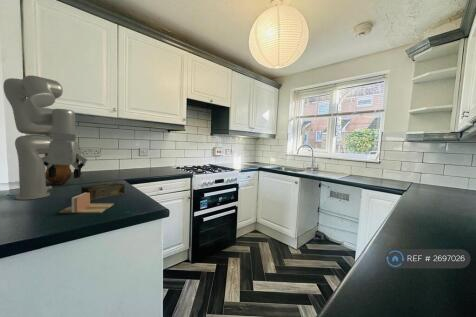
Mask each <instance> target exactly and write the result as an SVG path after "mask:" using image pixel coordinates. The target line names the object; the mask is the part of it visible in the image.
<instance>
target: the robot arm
mask: <svg viewBox="0 0 476 317" xmlns="http://www.w3.org/2000/svg"><path fill="white" fill-rule="evenodd" d="M2 88H3V93H4V95H5V97H6V99H7V101H8V102H9V105H10V107H11V109H12V113H13V118H14V124H15V127H16V130H17V132H19V133H20V134H26V135H21V136H17V137H16V138H15V141H14V146H15V149H16V150H15V151H16V154H17V160H18V161H17V162H18V180H19V185H18V186H19V194H17V195H15V197H14V198H15V200H17V201H18V200H19V201H21V200H23V201H24V200H25V201H27V200H36V199H41V198H46V197H49V196H51V192H50V191H49V190H51V189H52V188H53V186H52V185H47V183H46V182H47V181H46V180H47V179H46V174H45V173H46V169H47V168H48V175H49V178H52V177H56V168H54V167H55V166H56V165H70V166H72V167H73V168H74V169H73V178H74V179H79V178H80V177H81V175H82V174H81V173H82V172H81V171H82V170H81V169H82V168H83V167H84V166H85V165H86V163H87V162H88V159H87V158H86V157H83V156H81V155H80V149H79V145H78V142H77V141H76V113H75V111H74V110H72V109H66V108H48V107H50V106H52V105H54V103H56V99H59V98H60V97H62V96H63V92H64V91H63V86H62V85H61V83H60V82H58V81H56V80H53V79H50V78H46V77H42V76H36V75H30V74H29V75H26V76H24V77H23V78H13V77H11V78H6V79H5V80H4V82H3V87H2ZM45 154H48V155H47V156H45ZM39 155H44V156H42V157H41V156H39Z"/></svg>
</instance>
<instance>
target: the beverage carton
mask: <svg viewBox="0 0 476 317" xmlns="http://www.w3.org/2000/svg"><path fill="white" fill-rule="evenodd" d="M80 192H81V194H83V193H90V201H94V200H95V201H96V200H100V199H105V198H110V197H116V196H120V194H121V195H125V184H124V183H120V182H118V181H117V182H116V181H115V182H113V183H104V184H96V185H95V184H94V185H88V186H82V187H81V190H80ZM81 194H80V195H81Z"/></svg>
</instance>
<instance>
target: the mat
mask: <svg viewBox="0 0 476 317" xmlns="http://www.w3.org/2000/svg"><path fill="white" fill-rule="evenodd" d="M114 205H115V203H114V202H110V203H109V202H107V203H106V202H103V203H102V202H97V203H96V202H94V203H92V202H90V206H88V207H86V208H84V209H83V210H81V211H79V212H72V205H71V206H69V207H66V208H63V209H61V210H60V211H58V214H101V213H103V212H105V211H106V210H108V209H109V208H111V207H112V206H114Z"/></svg>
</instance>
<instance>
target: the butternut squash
mask: <svg viewBox="0 0 476 317" xmlns="http://www.w3.org/2000/svg"><path fill="white" fill-rule="evenodd" d="M47 155H48V154H44V157H45V156H47ZM54 168H56V177H52V178H49V175H48V168H47V167H46V169H45V174H46V180H47V181H48V182H50V183H51V184H53V185H65V184H66V183H67V182H68V181H69V180H70V179H71V178H72V177H73V171H72V169H71V165H56V166H55V167H54Z"/></svg>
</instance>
